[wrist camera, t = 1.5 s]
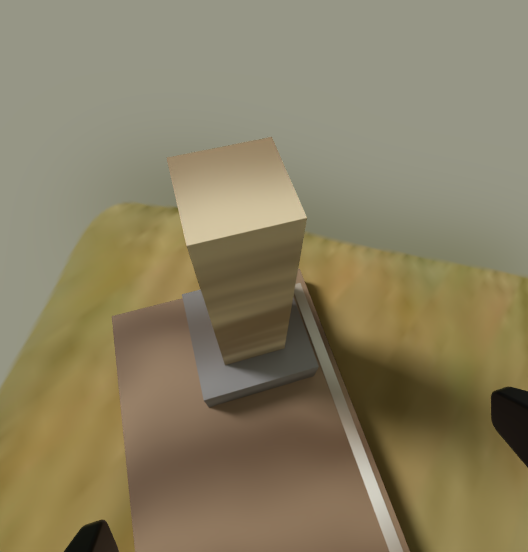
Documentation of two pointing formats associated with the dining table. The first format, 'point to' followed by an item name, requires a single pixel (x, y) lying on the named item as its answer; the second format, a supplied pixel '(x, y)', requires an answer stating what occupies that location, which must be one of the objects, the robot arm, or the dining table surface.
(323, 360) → the plank
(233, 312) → the wooden post with base
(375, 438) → the dining table surface
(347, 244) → the dining table surface
